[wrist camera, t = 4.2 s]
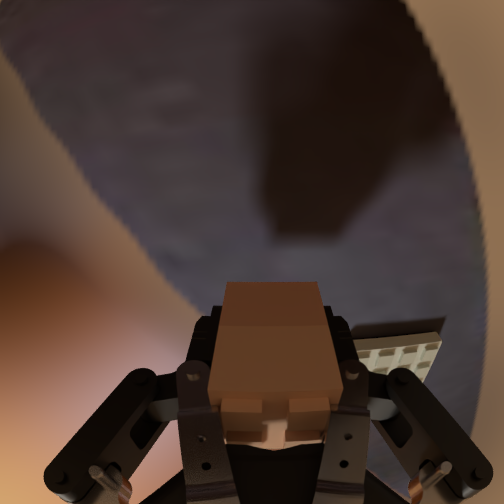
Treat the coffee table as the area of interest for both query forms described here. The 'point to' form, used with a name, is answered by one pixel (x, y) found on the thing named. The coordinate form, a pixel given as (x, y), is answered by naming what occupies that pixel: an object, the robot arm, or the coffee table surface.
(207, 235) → the coffee table surface
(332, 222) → the coffee table surface
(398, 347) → the stud plate
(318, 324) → the brick stack
